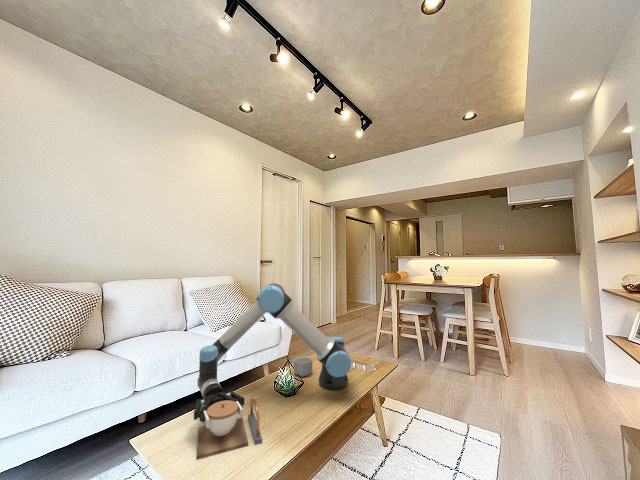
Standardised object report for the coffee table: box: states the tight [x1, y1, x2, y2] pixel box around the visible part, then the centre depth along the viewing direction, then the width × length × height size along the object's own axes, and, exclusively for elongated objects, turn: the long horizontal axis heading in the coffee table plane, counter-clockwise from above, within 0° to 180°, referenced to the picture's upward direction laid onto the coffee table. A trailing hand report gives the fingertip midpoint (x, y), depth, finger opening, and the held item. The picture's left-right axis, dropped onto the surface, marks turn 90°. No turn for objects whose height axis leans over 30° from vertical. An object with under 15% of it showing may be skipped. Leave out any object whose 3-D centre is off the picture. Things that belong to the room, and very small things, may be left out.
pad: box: [196, 416, 249, 460], centre depth 95 cm, size 16×16×1 cm
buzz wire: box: [249, 396, 260, 437], centre depth 100 cm, size 1×15×10 cm, turn 23°
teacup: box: [292, 355, 313, 377], centre depth 150 cm, size 14×11×8 cm
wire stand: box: [247, 412, 263, 446], centre depth 100 cm, size 2×17×1 cm, turn 23°
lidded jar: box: [207, 400, 239, 436], centre depth 96 cm, size 11×11×9 cm
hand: (225, 418), depth 92 cm, fingers closed on lidded jar, 11 cm apart
